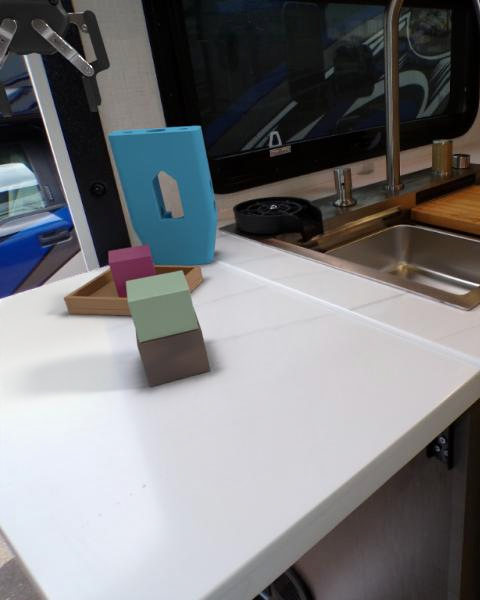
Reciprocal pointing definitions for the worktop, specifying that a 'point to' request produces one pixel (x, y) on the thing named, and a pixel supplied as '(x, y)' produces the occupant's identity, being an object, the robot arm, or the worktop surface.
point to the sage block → (161, 306)
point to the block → (149, 200)
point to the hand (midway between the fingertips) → (52, 113)
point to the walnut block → (174, 356)
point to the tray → (104, 296)
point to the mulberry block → (130, 266)
